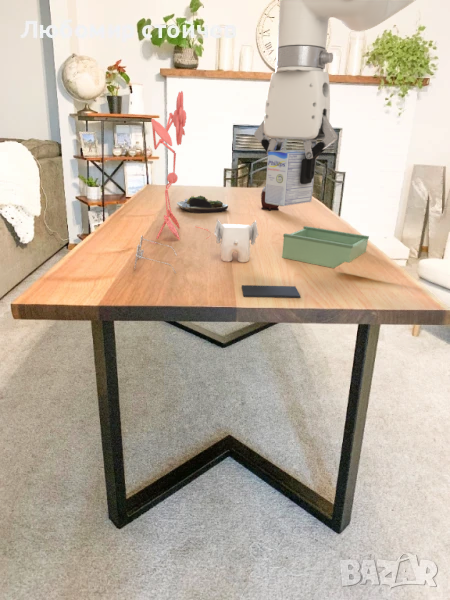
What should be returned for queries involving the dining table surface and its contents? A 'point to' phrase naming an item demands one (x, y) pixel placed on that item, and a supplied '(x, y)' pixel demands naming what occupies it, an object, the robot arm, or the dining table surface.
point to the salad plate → (202, 205)
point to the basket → (323, 246)
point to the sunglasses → (143, 252)
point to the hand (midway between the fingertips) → (290, 180)
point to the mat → (270, 291)
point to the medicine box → (286, 179)
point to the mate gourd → (264, 204)
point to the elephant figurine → (235, 240)
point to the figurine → (179, 123)
